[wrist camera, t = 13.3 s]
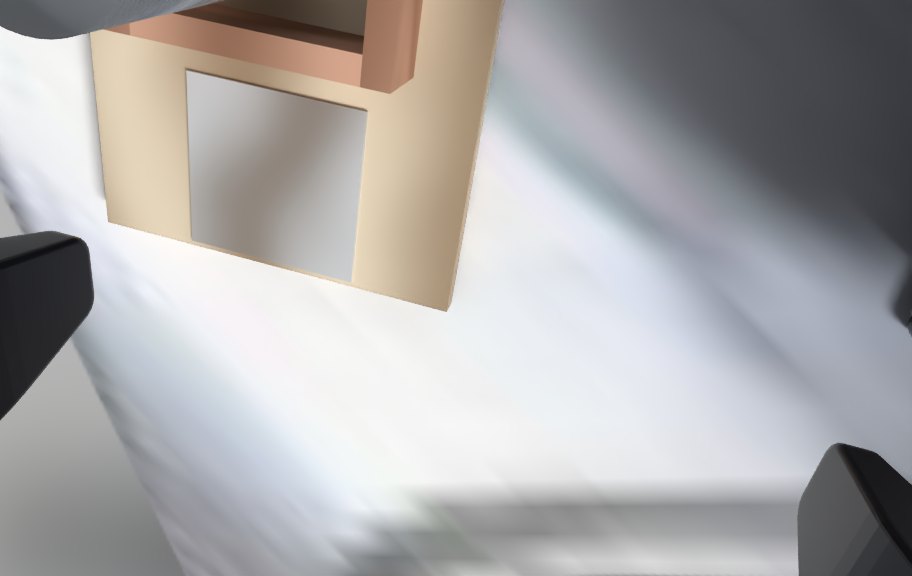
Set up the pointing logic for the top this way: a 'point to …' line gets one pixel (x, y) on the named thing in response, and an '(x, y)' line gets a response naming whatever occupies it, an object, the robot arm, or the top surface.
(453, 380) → the top surface
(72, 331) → the robot arm
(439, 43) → the wooden board with frame
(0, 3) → the dark grey cylinder
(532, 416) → the top surface
